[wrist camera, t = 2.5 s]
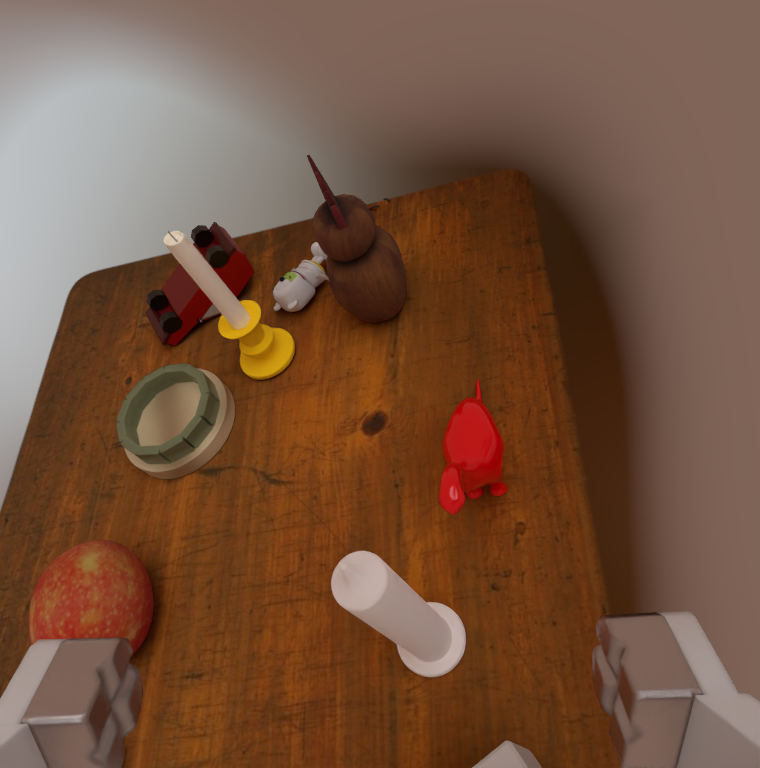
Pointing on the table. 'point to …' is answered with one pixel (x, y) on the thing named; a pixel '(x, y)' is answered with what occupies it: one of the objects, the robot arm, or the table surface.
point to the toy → (301, 281)
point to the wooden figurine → (359, 256)
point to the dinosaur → (471, 455)
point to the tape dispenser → (509, 757)
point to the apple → (93, 596)
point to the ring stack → (175, 420)
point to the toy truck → (185, 298)
